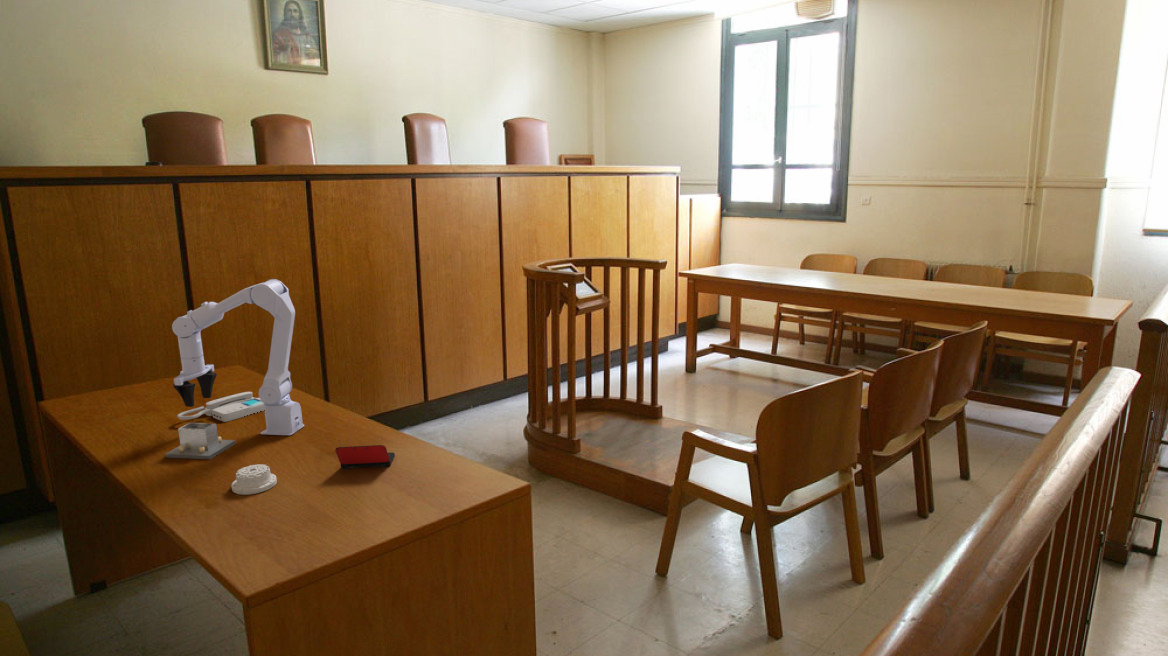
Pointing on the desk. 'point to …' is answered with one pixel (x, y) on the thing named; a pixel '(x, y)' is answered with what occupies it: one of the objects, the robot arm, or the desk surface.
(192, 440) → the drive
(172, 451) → the tray
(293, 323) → the robot arm
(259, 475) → the mechanical component
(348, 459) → the handheld game console
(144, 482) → the desk surface
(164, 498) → the desk surface
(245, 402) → the intercom
